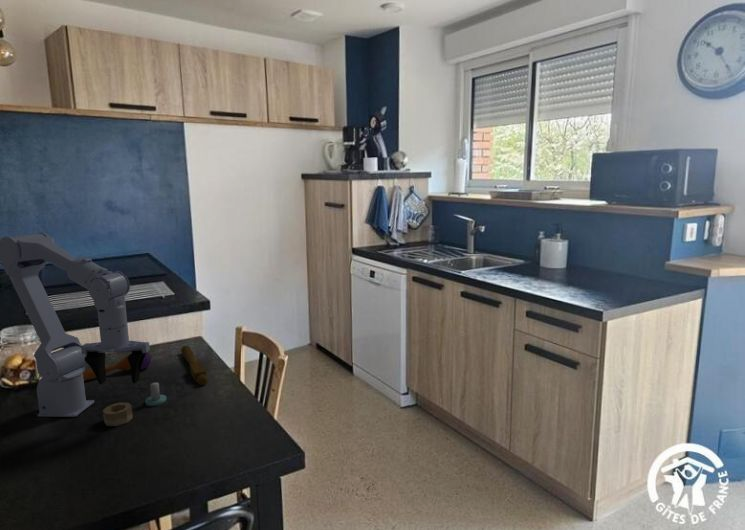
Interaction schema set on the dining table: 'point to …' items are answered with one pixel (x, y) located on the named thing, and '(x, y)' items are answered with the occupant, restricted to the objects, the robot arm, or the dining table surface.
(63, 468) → the dining table surface
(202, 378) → the wooden baluster
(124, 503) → the dining table surface
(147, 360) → the kendama
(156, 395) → the toy mushroom
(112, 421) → the ring
